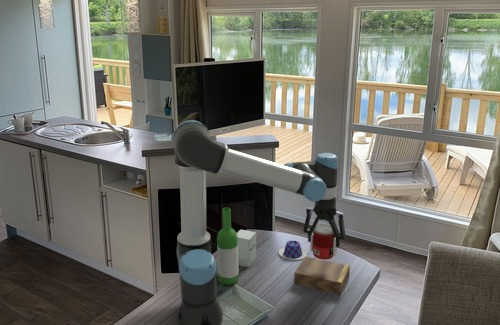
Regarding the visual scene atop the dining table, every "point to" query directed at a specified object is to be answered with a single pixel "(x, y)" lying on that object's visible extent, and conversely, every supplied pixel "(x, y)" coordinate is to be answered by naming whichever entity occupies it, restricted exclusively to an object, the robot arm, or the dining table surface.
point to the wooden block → (322, 275)
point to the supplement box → (246, 247)
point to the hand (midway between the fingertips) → (323, 251)
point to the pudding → (292, 251)
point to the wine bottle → (227, 251)
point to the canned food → (323, 241)
